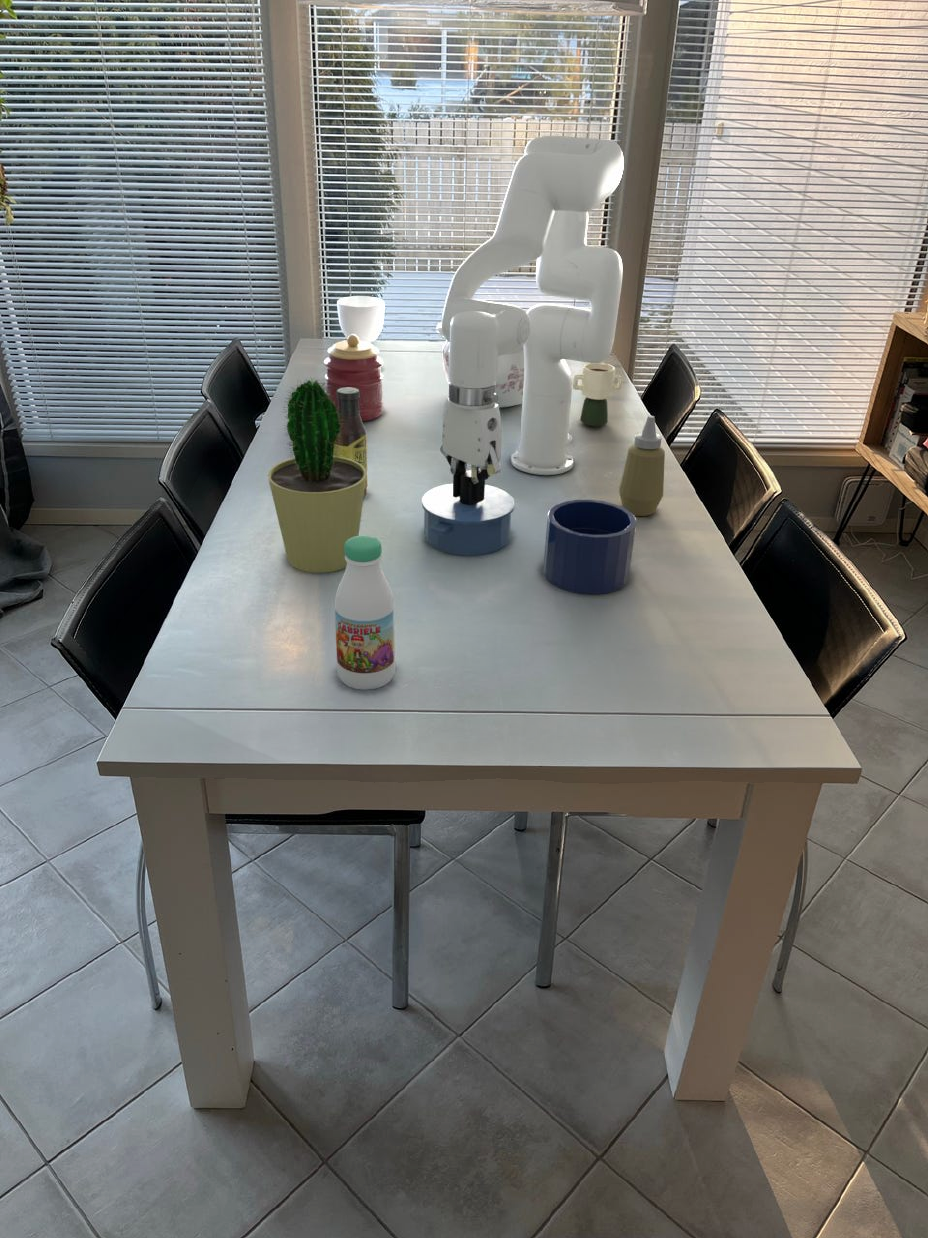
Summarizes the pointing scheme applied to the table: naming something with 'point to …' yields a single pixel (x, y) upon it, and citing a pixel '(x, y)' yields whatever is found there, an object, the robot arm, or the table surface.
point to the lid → (467, 503)
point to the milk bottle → (364, 618)
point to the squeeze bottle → (643, 472)
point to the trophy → (596, 391)
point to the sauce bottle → (351, 428)
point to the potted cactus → (316, 485)
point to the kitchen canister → (356, 374)
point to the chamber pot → (499, 374)
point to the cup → (361, 316)
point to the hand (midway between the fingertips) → (468, 497)
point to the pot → (589, 546)
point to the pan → (466, 536)
